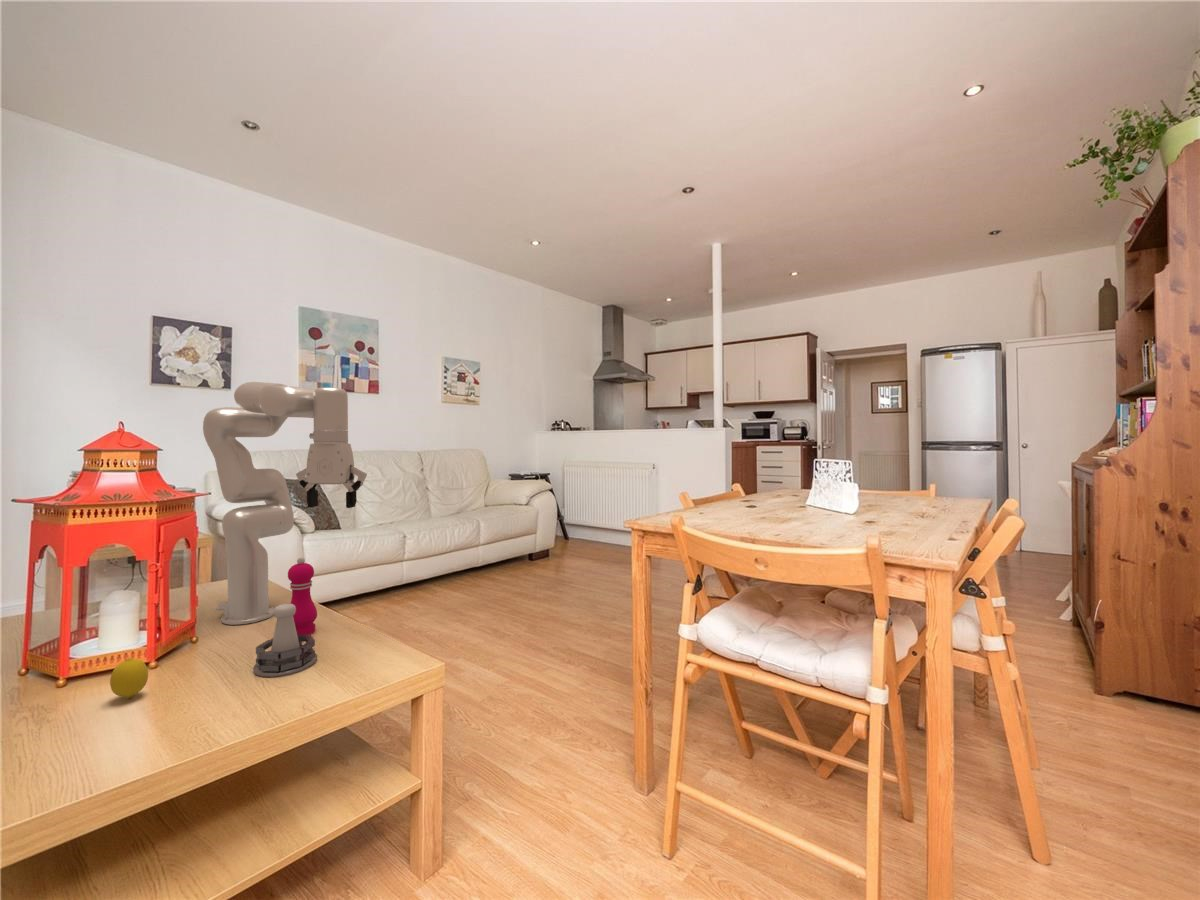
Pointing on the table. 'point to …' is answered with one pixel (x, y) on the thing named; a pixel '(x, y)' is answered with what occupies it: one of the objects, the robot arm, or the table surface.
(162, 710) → the table surface
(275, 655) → the collar stand
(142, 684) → the lemon
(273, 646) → the salt shaker
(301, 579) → the pepper mill
